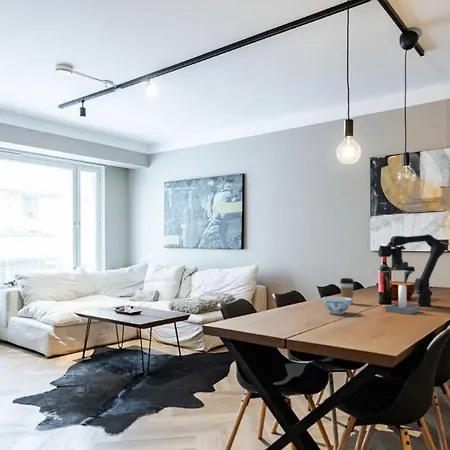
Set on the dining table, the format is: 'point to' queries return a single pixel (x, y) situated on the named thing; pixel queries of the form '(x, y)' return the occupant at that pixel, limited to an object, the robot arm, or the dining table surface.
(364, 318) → the dining table surface
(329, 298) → the chinaware
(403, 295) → the peg
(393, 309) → the socket tray
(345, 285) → the coffee cup
